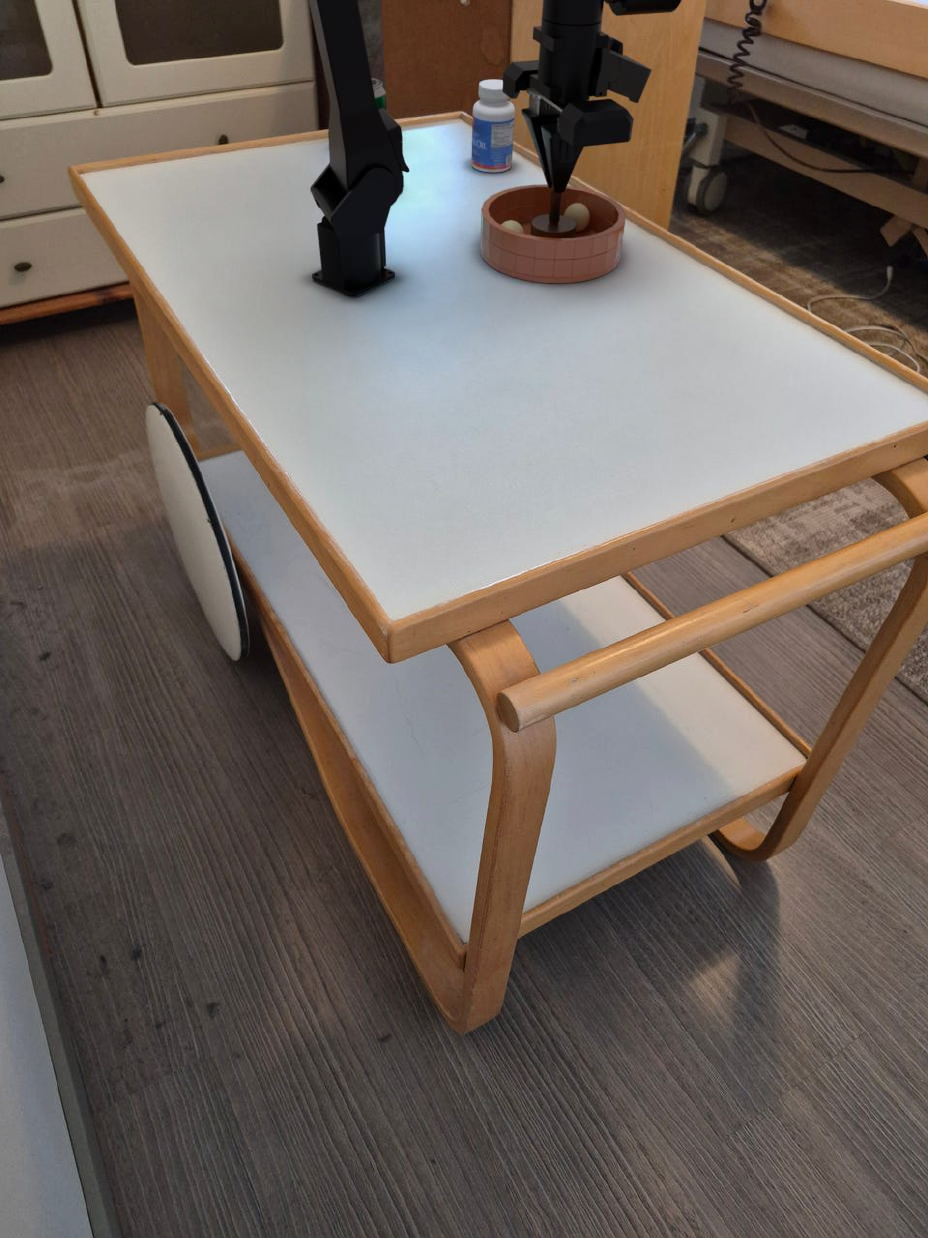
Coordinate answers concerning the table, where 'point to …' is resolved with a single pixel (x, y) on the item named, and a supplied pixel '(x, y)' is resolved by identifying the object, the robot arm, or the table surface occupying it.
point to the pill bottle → (492, 128)
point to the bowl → (551, 256)
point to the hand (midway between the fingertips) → (556, 189)
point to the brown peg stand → (553, 221)
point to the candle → (373, 37)
